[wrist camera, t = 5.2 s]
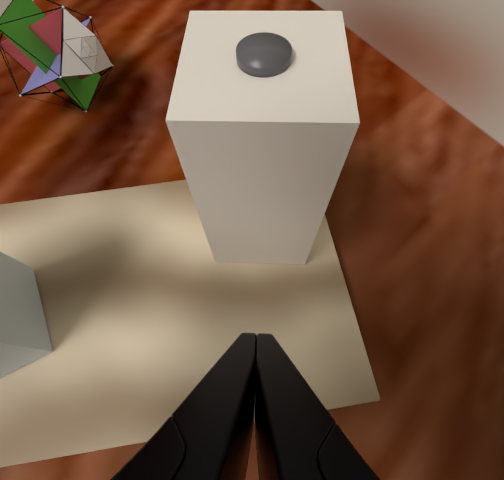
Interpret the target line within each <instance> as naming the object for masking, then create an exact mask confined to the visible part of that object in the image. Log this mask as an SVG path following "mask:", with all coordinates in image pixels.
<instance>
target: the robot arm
mask: <svg viewBox="0 0 504 480" xmlns="http://www.w3.org/2000/svg"><path fill="white" fill-rule="evenodd" d="M254 408H255V437H256V449H257V461H258V473H259V480H380V479H379V477H378V476H377V475H376V474H375V473H374V472H373V470H372V469H371V468H370V467H369V466H368V464H367V463H366V462H365V461H364V460H363V458H362V457H361V456H360V454H359V453H358V452H357V450H356V449H355V448H354V446H353V445H352V444H351V443H350V441H349V440H348V439H347V437H346V436H345V434H344V433H343V432H342V430H341V429H340V427H339V426H338V425H337V424H335V421H334V419H333V418H332V416H331V415H330V414H329V412H328V411H327V410H326V408H325V407H324V405H323V404H322V403H321V401H320V400H319V398H318V397H317V396H316V394H315V393H314V391H313V390H312V389H311V387H310V386H309V385H308V383H307V382H306V380H305V379H304V378H303V376H302V375H301V373H300V372H299V371H298V369H297V368H296V366H295V365H294V364H293V362H292V361H291V360H290V358H289V357H288V355H287V354H286V353H285V351H284V350H283V348H282V347H281V346H280V344H279V343H278V341H277V340H276V339H275V337H274V336H273V335H272V334H268V333H259V334H257V335H256V334H255V333H241V334H240V335H239V336H238V338H237V339H236V340H235V341H234V342H233V343H232V345H231V346H230V347H229V348H228V349H227V350H226V352H225V353H224V354H223V355H222V356H221V357H220V359H219V360H218V361H217V362H216V363H215V364H214V366H213V367H212V368H211V369H210V370H209V371H208V373H207V374H206V375H205V376H204V377H203V378H202V380H201V381H200V382H199V383H198V384H197V385H196V387H195V388H194V389H193V390H192V391H191V392H190V394H189V395H188V396H187V397H186V398H185V399H184V401H183V402H182V403H181V404H180V405H179V406H178V408H177V409H176V410H175V411H174V412H173V413H172V416H170V417H169V418H168V419H167V420H166V421H165V423H164V424H163V425H162V426H161V427H160V428H159V430H158V431H157V432H156V433H155V434H154V435H153V436H152V437H151V438H150V439H149V441H148V442H147V443H146V444H145V445H144V446H143V447H142V448H141V449H140V450H139V451H138V452H137V453H136V454H135V455H134V456H133V457H132V458H131V459H130V460H129V461H128V462H127V463H126V464H125V465H124V466H123V467H122V468H121V469H120V470H119V471H118V472H117V473H116V474H115V475H114V476H113V477H112V478H111V479H110V480H245V477H246V471H247V464H248V458H249V451H250V445H251V438H252V432H253V424H254Z"/></svg>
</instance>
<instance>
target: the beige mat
mask: <svg viewBox="0 0 504 480" xmlns="http://www.w3.org/2000/svg"><path fill="white" fill-rule="evenodd" d="M0 252H2V253H4V254H6V255H8V256H10V257H12V258H14V259H16V260H18V261H20V262H22V263H24V264H25V265H27V266H29V267H31V268H33V270H34V274H35V278H36V282H37V287H38V291H39V295H40V299H41V304H42V308H43V312H44V316H45V320H46V325H47V329H48V333H49V337H50V342H51V346H52V350H53V352H51V353H49V354H47V355H45V356H43V357H41V358H39V359H37V360H35V361H33V362H31V363H29V364H27V365H25V366H23V367H21V368H20V369H18V370H16V371H14V372H12V373H10V374H8V375H6V376H4V377H2V378H0V467H6V466H11V465H17V464H23V463H28V462H34V461H40V460H45V459H51V458H57V457H62V456H68V455H74V454H79V453H85V452H91V451H96V450H102V449H108V448H113V447H119V446H125V445H130V444H136V443H142V442H147V441H149V439H150V438H151V437H152V436H153V435H154V434H155V433H156V432H157V431H158V430H159V428H160V427H161V426H162V425H163V424H164V423H165V421H166V420H167V419H168V418H169V417H170V416H172V413H173V412H174V411H175V410H176V409H177V408H178V406H179V405H180V404H181V403H182V402H183V401H184V399H185V398H186V397H187V396H188V395H189V394H190V392H191V391H192V390H193V389H194V388H195V387H196V385H197V384H198V383H199V382H200V381H201V380H202V378H203V377H204V376H205V375H206V374H207V373H208V371H209V370H210V369H211V368H212V367H213V366H214V364H215V363H216V362H217V361H218V360H219V359H220V357H221V356H222V355H223V354H224V353H225V352H226V350H227V349H228V348H229V347H230V346H231V345H232V343H233V342H234V341H235V340H236V339H237V338H238V336H239V335H240V334H241V333H255V334H256V335H257V334H259V333H268V334H272V335H273V336H274V337H275V339H276V340H277V341H278V343H279V344H280V346H281V347H282V348H283V350H284V351H285V353H286V354H287V355H288V357H289V358H290V360H291V361H292V362H293V364H294V365H295V366H296V368H297V369H298V371H299V372H300V373H301V375H302V376H303V378H304V379H305V380H306V382H307V383H308V385H309V386H310V387H311V389H312V390H313V391H314V393H315V394H316V396H317V397H318V398H319V400H320V401H321V403H322V404H323V405H324V407H325V408H326V410H328V409H334V408H340V407H345V406H351V405H357V404H362V403H368V402H374V401H379V400H381V399H380V396H379V393H378V389H377V386H376V383H375V379H374V376H373V373H372V369H371V366H370V363H369V359H368V356H367V353H366V349H365V346H364V343H363V339H362V336H361V333H360V330H359V326H358V323H357V320H356V316H355V313H354V310H353V306H352V303H351V300H350V296H349V293H348V290H347V286H346V283H345V280H344V276H343V273H342V270H341V266H340V263H339V260H338V256H337V253H336V250H335V246H334V243H333V240H332V236H331V233H330V230H329V226H328V223H327V220H326V216H325V214H324V216H323V219H322V222H321V224H320V227H319V229H318V232H317V234H316V237H315V240H314V242H313V245H312V247H311V250H310V252H309V255H308V258H307V260H306V263H305V264H272V263H237V262H215V260H214V257H213V254H212V252H211V249H210V246H209V243H208V240H207V237H206V234H205V232H204V229H203V226H202V223H201V220H200V217H199V214H198V212H197V209H196V206H195V203H194V200H193V197H192V194H191V192H190V189H189V186H188V183H187V180H180V181H173V182H165V183H158V184H150V185H143V186H136V187H128V188H121V189H113V190H106V191H98V192H91V193H84V194H76V195H69V196H61V197H54V198H46V199H39V200H32V201H24V202H17V203H9V204H2V205H0ZM254 423H255V408H254Z"/></svg>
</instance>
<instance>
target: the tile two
mask: <svg viewBox="0 0 504 480" xmlns="http://www.w3.org/2000/svg"><path fill="white" fill-rule="evenodd" d="M51 352H53V350H52V346H51V342H50V337H49V333H48V329H47V325H46V320H45V316H44V312H43V308H42V304H41V299H40V295H39V291H38V287H37V282H36V278H35V274H34V270H33V268H31V267H29V266H27V265H25V264H24V263H22V262H20V261H18V260H16V259H14V258H12V257H10V256H8V255H6V254H4V253H2V252H0V378H2V377H4V376H6V375H8V374H10V373H12V372H14V371H16V370H18V369H20V368H21V367H23V366H25V365H27V364H29V363H31V362H33V361H35V360H37V359H39V358H41V357H43V356H45V355H47V354H49V353H51Z"/></svg>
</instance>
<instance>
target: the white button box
mask: <svg viewBox="0 0 504 480" xmlns="http://www.w3.org/2000/svg"><path fill="white" fill-rule="evenodd" d="M166 123H167V126H168V129H169V132H170V135H171V137H172V140H173V143H174V146H175V149H176V152H177V155H178V157H179V160H180V163H181V166H182V169H183V172H184V175H185V177H186V180H187V183H188V186H189V189H190V192H191V194H192V197H193V200H194V203H195V206H196V209H197V212H198V214H199V217H200V220H201V223H202V226H203V229H204V232H205V234H206V237H207V240H208V243H209V246H210V249H211V252H212V254H213V257H214V260H215V262H237V263H272V264H305V263H306V260H307V258H308V255H309V252H310V250H311V247H312V245H313V242H314V240H315V237H316V234H317V232H318V229H319V227H320V224H321V222H322V219H323V216H324V214H325V211H326V209H327V206H328V204H329V201H330V198H331V196H332V193H333V191H334V188H335V186H336V183H337V180H338V178H339V175H340V173H341V170H342V168H343V165H344V162H345V160H346V157H347V155H348V152H349V150H350V147H351V144H352V142H353V139H354V137H355V134H356V132H357V129H358V126H359V124H360V121H359V115H358V109H357V102H356V96H355V90H354V84H353V77H352V71H351V65H350V59H349V52H348V46H347V40H346V34H345V27H344V21H343V15H342V11H190V13H189V18H188V22H187V27H186V31H185V36H184V40H183V45H182V49H181V53H180V58H179V62H178V67H177V71H176V76H175V80H174V85H173V89H172V94H171V98H170V103H169V107H168V112H167V116H166Z"/></svg>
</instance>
